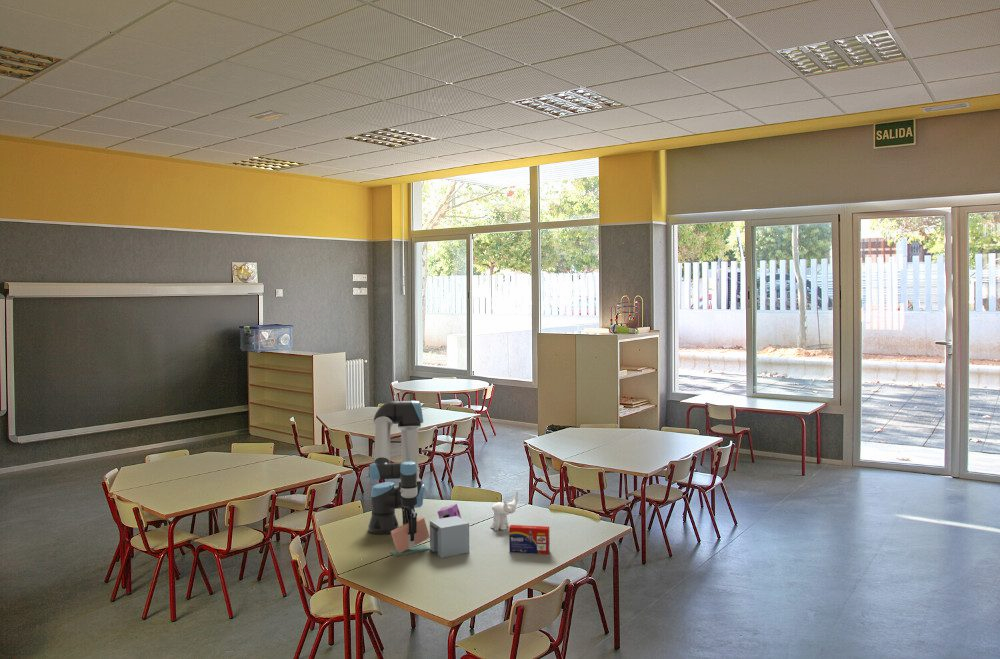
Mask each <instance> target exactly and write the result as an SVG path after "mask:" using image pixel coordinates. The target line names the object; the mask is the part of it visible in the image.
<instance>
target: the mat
mask: <svg viewBox="0 0 1000 659" xmlns="http://www.w3.org/2000/svg"><path fill="white" fill-rule="evenodd" d="M429 550H431V549H430V547H428V546H427V545H426V544H419V545H415V547H413V548H409V549H407V550H405V551H403V552H401V553H399V552H397V551H396V549H394V550H390V551H389V552H390V553H391V554H392V555H393V556H394V557H397V556H398V557H399V556H403V555H408V554H414V553H418V552H419V553H420V552H425V551H429Z"/></svg>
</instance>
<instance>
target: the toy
mask: <svg viewBox="0 0 1000 659" xmlns="http://www.w3.org/2000/svg"><path fill="white" fill-rule="evenodd" d="M460 512H461V511H460V509H459V506H458V503H454V504H451V505H448V506H443V507H441V508H440V509H439V510H438V511H437V515H438V517H439V518H438V519H441V518H447V517H453V516H458V517H460V518H461V519H463V518H462V516H461V513H460Z"/></svg>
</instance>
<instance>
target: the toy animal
mask: <svg viewBox="0 0 1000 659" xmlns="http://www.w3.org/2000/svg"><path fill="white" fill-rule="evenodd" d="M518 502H519V495H518V490H516V491H515V493H514V496H513V499H512V501H509V502H507V501H506V500H504V501H503V502H502V501H498V502H495V503H494V504H493V505H492V506H491V509H492V511H493V521H492V523H491V525H490V528H491V529H493V530H495V531H499V530H501V531H502V530H503V531H505V529H506V530H507V529H508V528H509V527H510V524H509V522H508V518H507V516H508V515H510V514H514V513H515V512H516V509H517V505H518ZM508 526H509V527H508Z"/></svg>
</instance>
